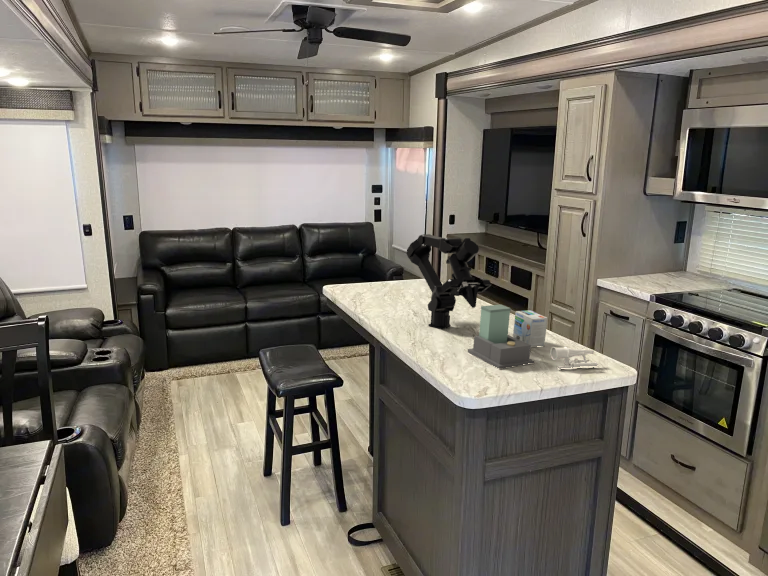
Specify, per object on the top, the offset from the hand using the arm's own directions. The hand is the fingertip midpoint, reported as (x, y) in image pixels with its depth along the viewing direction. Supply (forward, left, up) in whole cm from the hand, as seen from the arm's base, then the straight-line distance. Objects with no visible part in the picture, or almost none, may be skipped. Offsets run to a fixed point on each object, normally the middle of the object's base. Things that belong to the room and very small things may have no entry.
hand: (474, 307), depth 200 cm
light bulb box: (+15, +15, -13) cm, 25 cm away
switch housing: (+15, -7, -13) cm, 21 cm away
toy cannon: (+36, +2, -13) cm, 39 cm away
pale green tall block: (+11, -5, -12) cm, 17 cm away
